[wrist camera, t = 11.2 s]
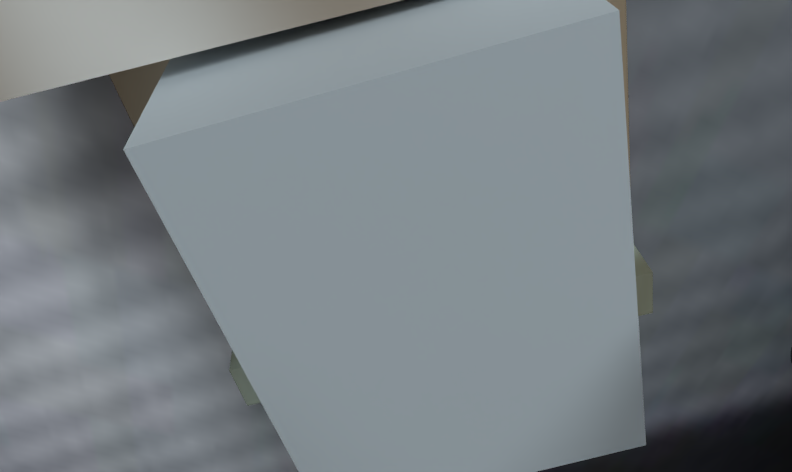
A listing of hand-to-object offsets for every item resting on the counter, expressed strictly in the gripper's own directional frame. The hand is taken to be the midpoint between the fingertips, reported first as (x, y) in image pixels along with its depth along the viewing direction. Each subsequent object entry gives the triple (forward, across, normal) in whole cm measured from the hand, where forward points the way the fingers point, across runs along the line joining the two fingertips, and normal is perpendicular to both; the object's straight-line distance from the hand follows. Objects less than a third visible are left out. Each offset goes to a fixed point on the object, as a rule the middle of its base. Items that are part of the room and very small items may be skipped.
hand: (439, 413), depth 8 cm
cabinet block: (+10, 0, 0) cm, 10 cm away
